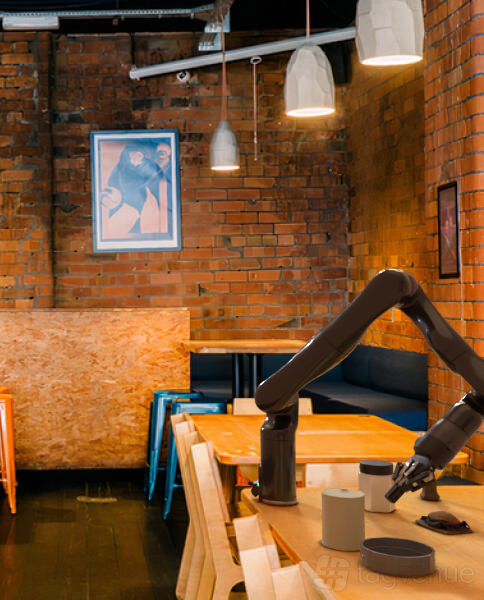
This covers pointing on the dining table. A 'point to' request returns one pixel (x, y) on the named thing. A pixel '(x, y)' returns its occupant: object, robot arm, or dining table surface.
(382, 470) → the jar
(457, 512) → the dining table surface
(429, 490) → the kendama
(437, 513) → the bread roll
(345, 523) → the can
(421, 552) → the pan
